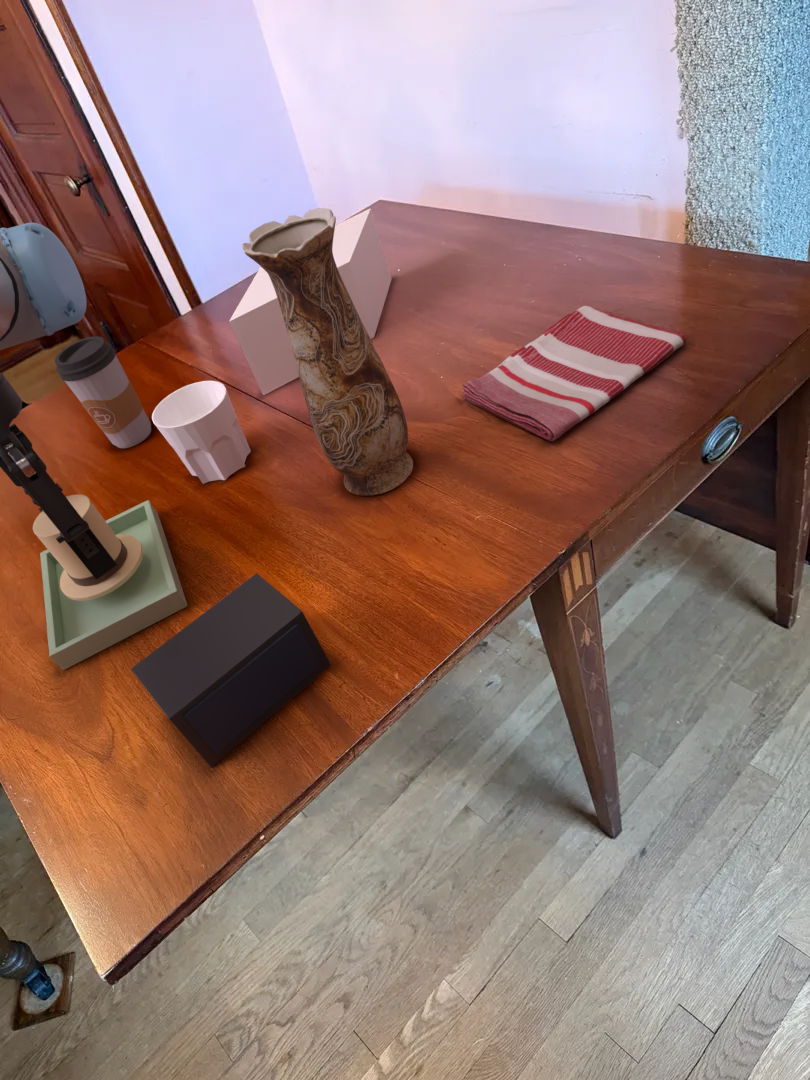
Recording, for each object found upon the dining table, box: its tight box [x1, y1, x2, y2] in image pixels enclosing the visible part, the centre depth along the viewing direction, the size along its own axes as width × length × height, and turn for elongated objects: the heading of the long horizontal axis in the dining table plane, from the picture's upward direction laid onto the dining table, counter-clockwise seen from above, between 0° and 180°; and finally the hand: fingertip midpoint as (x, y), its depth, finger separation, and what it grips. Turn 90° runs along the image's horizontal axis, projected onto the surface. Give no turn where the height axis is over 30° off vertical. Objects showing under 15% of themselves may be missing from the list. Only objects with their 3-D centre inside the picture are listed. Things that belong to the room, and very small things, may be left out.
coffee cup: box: [54, 335, 152, 449], centre depth 108 cm, size 8×8×15 cm
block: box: [228, 207, 393, 396], centre depth 117 cm, size 18×35×12 cm, turn 145°
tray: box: [39, 499, 188, 671], centre depth 88 cm, size 20×15×3 cm
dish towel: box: [462, 305, 687, 442], centre depth 94 cm, size 17×23×3 cm
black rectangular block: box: [130, 572, 332, 768], centre depth 68 cm, size 14×8×8 cm, turn 130°
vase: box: [241, 207, 414, 496], centre depth 81 cm, size 10×11×30 cm
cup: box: [151, 380, 252, 485], centre depth 98 cm, size 10×10×10 cm
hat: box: [32, 493, 143, 601], centre depth 84 cm, size 10×10×9 cm
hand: (93, 556), depth 85 cm, fingers closed on hat, 7 cm apart
